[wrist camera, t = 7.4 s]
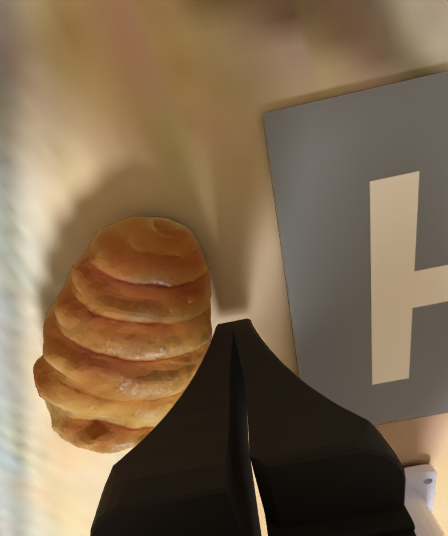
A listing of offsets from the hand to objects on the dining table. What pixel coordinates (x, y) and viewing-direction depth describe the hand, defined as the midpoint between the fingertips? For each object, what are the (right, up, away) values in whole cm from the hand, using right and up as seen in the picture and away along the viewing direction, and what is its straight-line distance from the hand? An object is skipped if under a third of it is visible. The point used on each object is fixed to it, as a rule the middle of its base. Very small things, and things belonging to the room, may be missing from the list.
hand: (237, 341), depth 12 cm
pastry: (-5, +1, +2) cm, 5 cm away
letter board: (+10, +3, +1) cm, 11 cm away
